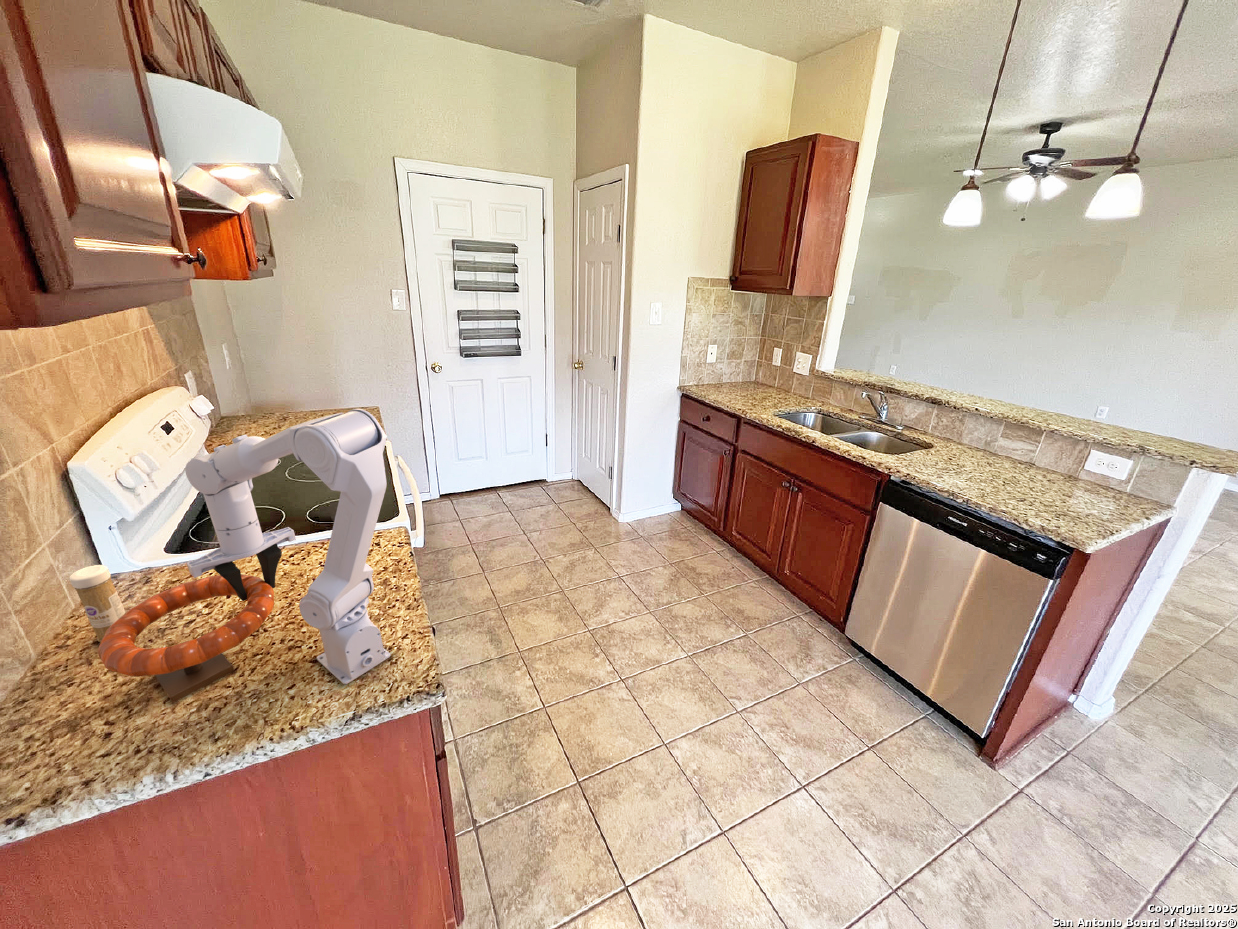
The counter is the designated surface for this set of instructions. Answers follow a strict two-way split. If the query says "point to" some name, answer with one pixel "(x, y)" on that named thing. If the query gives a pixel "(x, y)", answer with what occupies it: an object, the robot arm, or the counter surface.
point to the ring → (144, 662)
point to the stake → (194, 677)
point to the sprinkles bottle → (98, 597)
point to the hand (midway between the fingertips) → (257, 591)
